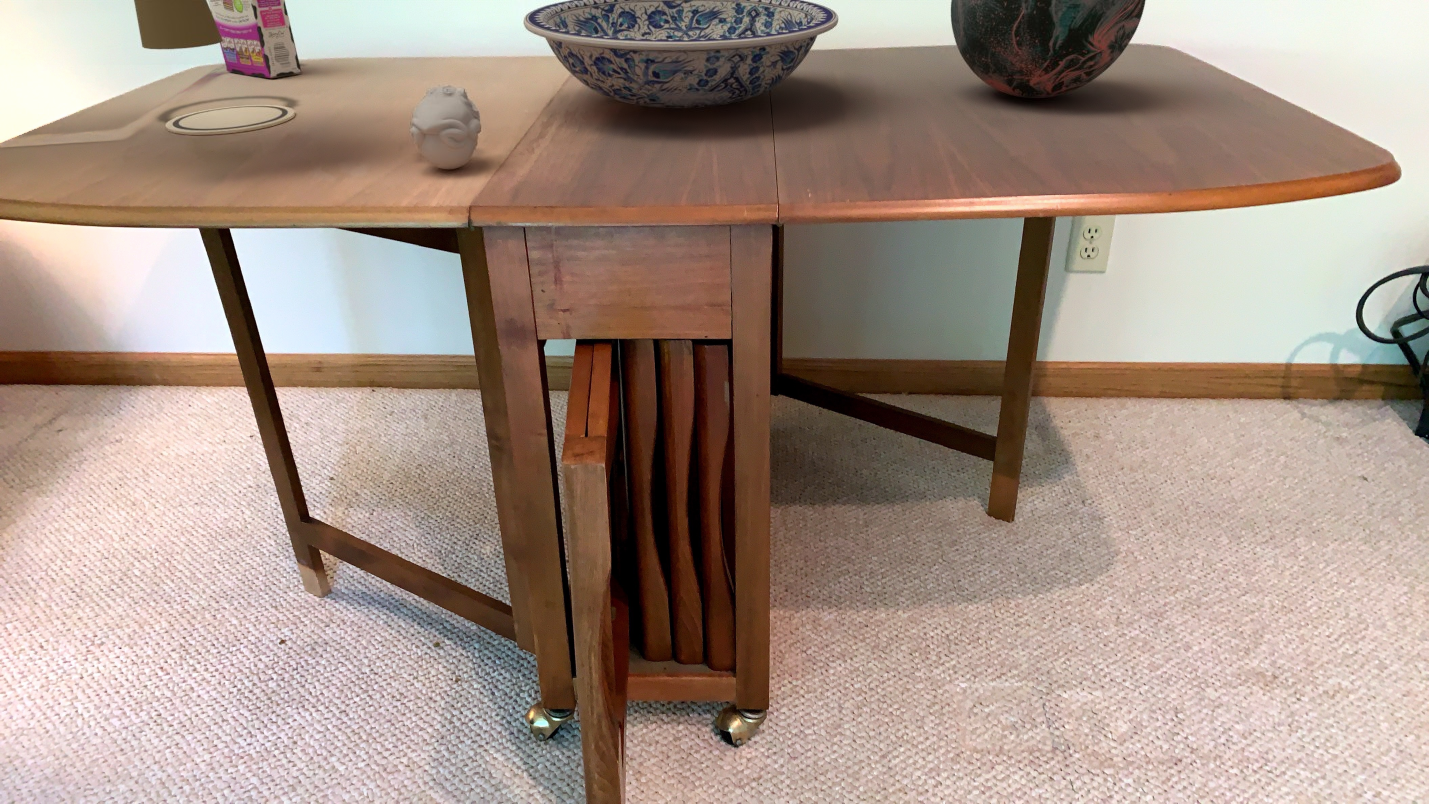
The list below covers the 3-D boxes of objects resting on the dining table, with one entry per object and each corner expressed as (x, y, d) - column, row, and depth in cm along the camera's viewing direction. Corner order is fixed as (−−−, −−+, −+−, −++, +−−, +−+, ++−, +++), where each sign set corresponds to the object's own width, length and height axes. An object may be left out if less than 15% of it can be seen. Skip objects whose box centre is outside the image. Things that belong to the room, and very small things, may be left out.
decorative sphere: (923, 81, 110) (940, -104, 100) (1082, 77, 111) (1115, -108, 101) (969, 118, 93) (996, -100, 83) (1157, 113, 94) (1207, -105, 84)
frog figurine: (500, 158, 83) (489, 80, 79) (465, 180, 77) (452, 96, 74) (440, 155, 84) (427, 78, 81) (402, 176, 78) (386, 94, 75)
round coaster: (148, 138, 92) (147, 135, 92) (186, 111, 103) (185, 108, 103) (281, 130, 94) (281, 127, 94) (305, 104, 105) (304, 101, 105)
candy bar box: (305, 73, 122) (273, -61, 114) (271, 79, 119) (236, -58, 111) (259, 66, 128) (225, -62, 120) (225, 72, 124) (188, -60, 116)
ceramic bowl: (584, 156, 83) (574, 42, 78) (503, 90, 110) (492, 2, 105) (894, 116, 95) (902, 14, 90) (752, 65, 122) (752, -15, 117)
